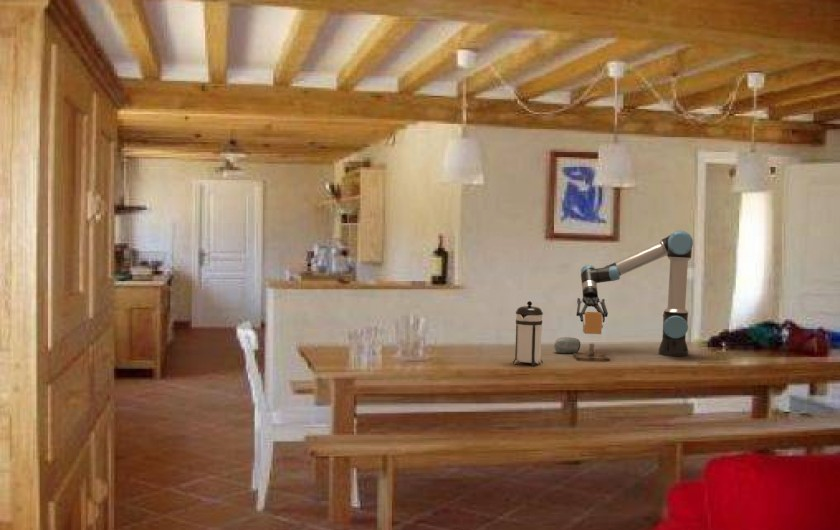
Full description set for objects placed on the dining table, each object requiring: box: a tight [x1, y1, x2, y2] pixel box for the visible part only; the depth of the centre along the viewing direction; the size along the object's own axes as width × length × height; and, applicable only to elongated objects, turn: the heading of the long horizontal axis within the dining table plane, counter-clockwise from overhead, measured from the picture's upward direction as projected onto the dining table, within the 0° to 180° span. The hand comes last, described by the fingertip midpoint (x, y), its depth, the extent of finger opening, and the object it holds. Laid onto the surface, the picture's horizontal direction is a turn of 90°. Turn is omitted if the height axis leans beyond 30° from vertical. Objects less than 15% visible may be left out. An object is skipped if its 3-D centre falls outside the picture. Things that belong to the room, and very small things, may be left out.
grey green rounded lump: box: [553, 336, 581, 354], centre depth 465 cm, size 14×10×10 cm
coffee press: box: [512, 300, 544, 367], centre depth 427 cm, size 17×16×30 cm
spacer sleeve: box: [582, 311, 603, 335], centre depth 447 cm, size 8×8×10 cm
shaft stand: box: [573, 343, 611, 362], centre depth 447 cm, size 16×14×8 cm
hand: (593, 326), depth 444 cm, fingers closed on spacer sleeve, 8 cm apart
